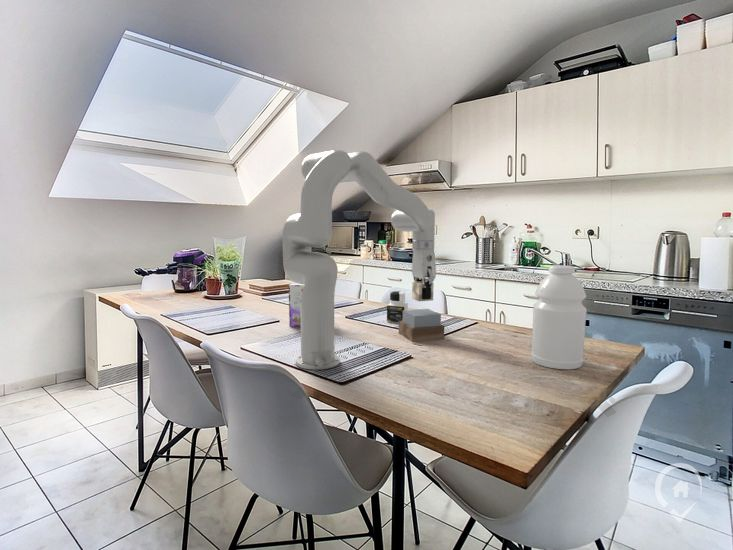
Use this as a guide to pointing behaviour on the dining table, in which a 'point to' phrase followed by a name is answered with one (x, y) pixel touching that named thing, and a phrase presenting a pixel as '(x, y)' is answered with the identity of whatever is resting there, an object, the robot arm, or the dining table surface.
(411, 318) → the slate top block
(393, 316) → the medicine bottle
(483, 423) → the dining table surface
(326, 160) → the robot arm
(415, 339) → the walnut base block
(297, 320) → the candy box
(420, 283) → the maple block
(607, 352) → the dining table surface
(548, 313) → the bottle
